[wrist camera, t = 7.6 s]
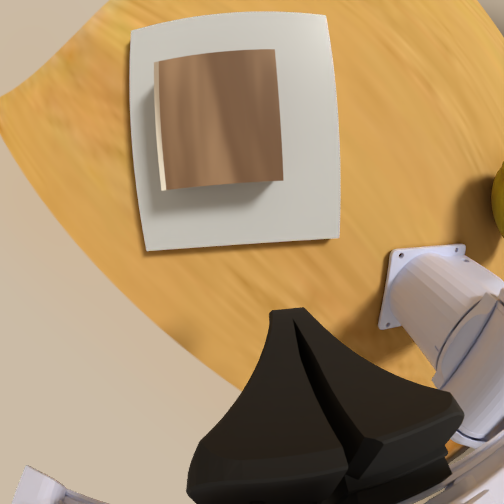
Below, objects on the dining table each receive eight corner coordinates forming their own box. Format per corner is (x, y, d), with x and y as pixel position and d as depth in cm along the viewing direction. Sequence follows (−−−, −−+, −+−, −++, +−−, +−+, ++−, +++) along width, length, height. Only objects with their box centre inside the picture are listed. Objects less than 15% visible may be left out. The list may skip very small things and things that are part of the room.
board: (322, 20, 14) (325, 15, 13) (335, 233, 20) (339, 237, 19) (135, 35, 14) (131, 30, 13) (150, 246, 20) (146, 251, 19)
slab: (274, 49, 12) (153, 62, 12) (283, 180, 15) (161, 190, 15) (270, 62, 15) (165, 73, 14) (277, 176, 17) (172, 185, 17)
